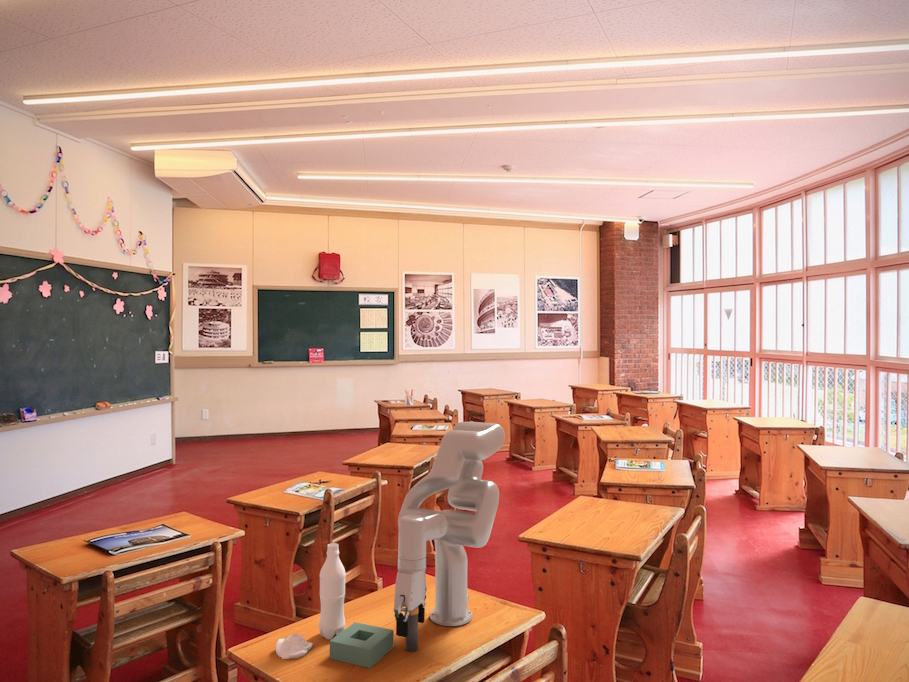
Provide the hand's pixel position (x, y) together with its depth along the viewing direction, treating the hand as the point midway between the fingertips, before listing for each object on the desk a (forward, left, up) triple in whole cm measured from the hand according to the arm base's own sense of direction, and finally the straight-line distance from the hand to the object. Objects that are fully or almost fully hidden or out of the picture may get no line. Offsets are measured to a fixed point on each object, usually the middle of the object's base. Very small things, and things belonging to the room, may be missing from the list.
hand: (410, 628), depth 162 cm
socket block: (+6, -11, -6) cm, 14 cm away
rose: (+12, -28, -6) cm, 31 cm away
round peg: (-1, 0, -6) cm, 6 cm away
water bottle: (+1, -24, -6) cm, 25 cm away
